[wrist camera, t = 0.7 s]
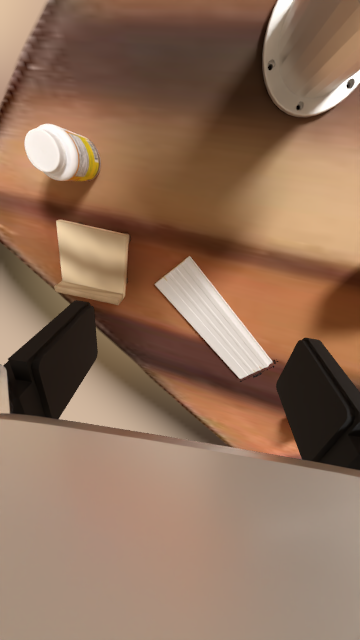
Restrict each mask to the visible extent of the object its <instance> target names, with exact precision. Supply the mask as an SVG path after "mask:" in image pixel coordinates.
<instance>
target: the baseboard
mask: <svg viewBox="0 0 360 640" xmlns="http://www.w3.org/2000/svg"><path fill="white" fill-rule="evenodd" d="M155 286H156V287H157V288H158V289H159V290H160V291H161V292H162V293H163V294H164V296H165V297H166V298H167V299H168V300H169V301H170V302H171V303H172V304H173V306H174V307H175V308H176V309H177V310H178V311H179V312H180V313H181V314H182V315H183V317H184V318H185V319H186V320H187V321H188V322H189V323H190V324H191V325H192V327H193V328H194V329H195V330H196V331H197V332H198V333H199V334H200V335H201V336H202V338H203V339H204V340H205V341H206V342H207V343H208V344H209V345H210V346H211V348H212V349H213V350H214V351H215V352H216V353H217V354H218V355H219V356H220V358H221V359H222V360H223V361H224V362H225V363H226V364H227V365H228V366H229V367H230V369H231V370H232V371H233V372H234V373H235V374H236V375H237V376H238V377H239V379H241V378H243V377H246V376H248V375H249V374H252V373H254V372H256V371H258V370H261V369H263V368H266V367H268V366H269V364H270V363H272V360H271V359H270V358H269V356H268V355H267V354H266V352H265V351H264V350H263V349H262V347H261V346H260V345H259V344H258V342H257V341H256V340H255V338H254V337H253V336H252V335H251V333H250V332H249V331H248V329H247V328H246V327H245V326H244V324H243V323H242V322H241V321H240V319H239V318H238V317H237V315H236V314H235V313H234V312H233V310H232V309H231V308H230V306H229V305H228V304H227V303H226V301H225V300H224V299H223V298H222V296H221V295H220V294H219V292H218V291H217V290H216V289H215V287H214V286H213V285H212V283H211V282H210V281H209V280H208V278H207V277H206V276H205V275H204V273H203V272H202V271H201V269H200V268H199V267H198V266H197V264H196V263H195V262H194V260H193V259H192V258H191V257H190V256H188V257H187V258H186V259H185V260H183V261H182V262H181V263H180V264H178V265H177V266H176V267H175V268H173V269H172V270H171V271H170V272H168V273H167V274H166V275H164V276H163V277H162V278H161V279H159V280H158V281H157V282H156V283H155ZM276 360H277V359H276ZM274 362H275V360H274ZM277 362H278V361H277ZM274 364H276V362H275V363H274ZM271 368H272V367H271ZM273 368H274V366H273ZM269 369H270V368H269ZM267 370H268V369H267ZM262 372H263V371H262ZM261 374H262V373H261V372H260V375H261ZM258 375H259V373H258V374H257V375H256V376H254V375H253V378H254V377H257V376H258ZM251 377H252V376H251ZM249 378H250V377H249ZM244 380H245V379H244ZM242 381H243V380H242ZM240 382H241V381H240Z"/></svg>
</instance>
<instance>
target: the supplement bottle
mask: <svg viewBox="0 0 360 640" xmlns="http://www.w3.org/2000/svg"><path fill="white" fill-rule="evenodd" d="M25 151H26V154H27V156H28V158H29V160H30V161H31V163H32V164H33V165H34V166H35V167H36V168H37V169H39V170H40V171H43V172H44V173H45V174H46V175H47V176H49V177H50V178H52V179H55V180H58V181H90V180H93V179H94V178H95V177H96V176H97V175H98V173H99V171H100V165H101V161H100V156H99V153H98V150H97V149H96V147H95V145H94V144H93V143H92V142H91V141H90V140H89V139H87V138H86V137H84V136H81V135H79V134H76V133H74V132H71V131H68V130H66V129H63V128H61V127H58V126H56V125H52V124H43V125H41V126H39V127H38V128H36V129H32V130H30V131H29V132H28V133H27V135H26V137H25Z"/></svg>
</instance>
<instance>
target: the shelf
mask: <svg viewBox="0 0 360 640" xmlns="http://www.w3.org/2000/svg"><path fill="white" fill-rule="evenodd" d="M56 224H57V234H58V244H59V253H60V263H61V273H62V281H61V282H60V283H58V284H57V285H56V286H55V292H60V293H64V294H69V295H74V296H78V297H83V298H87V299H92V300H97V301H101V302H106V303H111V304H115V305H119V304H120V303H121V301H122V300H123V298H124V297H125V291H126V284H127V283H128V279H127V277H126V275H127V259H128V243H129V242H130V241H131V236H130V235H129V234H128V233H126V232H125V233H119V232H114V231H110V230H105V229H101V228H96V227H92V226H87V225H84V224H83V223H81V222H79V223H74V222H69V221H65V220H57V221H56Z"/></svg>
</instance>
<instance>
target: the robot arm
mask: <svg viewBox="0 0 360 640" xmlns="http://www.w3.org/2000/svg"><path fill="white" fill-rule="evenodd" d="M268 66H271V67H272V70H268ZM262 70H263V77H264V82H265V85H266V88H267V91H268V94H269V96H270V97H271V99H272V101H273V102H274V103H275V105H276V106H277V107H278V108H279V109H280V110H282V111H283V112H285V113H286V114H288V115H292V116H295V117H311V116H316V115H318V114H321V113H323V112H326V111H328V110H329V109H331V108H332V107H334V106H336V105H337V104H338V103H340V102H341V101H342V100H344V99H345V98H346V97H347V96H348V95H349V94H350V93H351V92H352V91H353V90H354V89H355V88H356V87H357V86H358V84H359V83H360V0H277V2H276V5H275V7H274V9H273V11H272V14H271V17H270V20H269V22H268V26H267V30H266V34H265V38H264V45H263V52H262ZM346 84H348V89H347V87H346ZM296 106H299V110H297V109H296ZM97 352H98V351H97V339H96V326H95V314H94V307H93V306H91V305H90V303H89V302H83V301H77V300H76V301H74V302H73V303H72V304H70V305H69V306H68V307H67V308H66V309H65V310H64V311H62V312H61V313H60V314H59V315H58V316H57V317H56V318H54V319H53V320H52V321H51V322H50V323H49V324H48V325H46V326H45V327H44V328H43V329H42V330H41V331H39V332H38V333H37V334H36V335H35V336H34V337H33V338H31V339H30V340H29V341H28V342H27V343H26V344H25V345H23V346H22V347H21V348H20V349H19V350H18V351H17V352H15V353H14V354H13V355H12V356H11V357H10V358H9V359H8V360H9V361H8V362H7V363H6V364H5V365H4V366H2V365H1V364H0V640H360V392H359V391H358V389H357V388H356V387H355V385H354V384H353V383H352V382H351V380H350V379H349V378H348V376H347V375H346V374H345V372H344V371H343V370H342V368H341V367H340V366H339V365H338V363H337V362H336V361H335V359H334V358H333V357H332V355H331V354H330V353H329V352H328V350H327V349H326V348H325V346H324V345H323V344H322V342H321V341H320V340H316V339H310V338H304V339H302V340H299V341H298V343H297V344H296V346H295V348H294V350H293V352H292V354H291V356H290V358H289V360H288V362H287V364H286V366H285V368H284V370H283V371H282V373H281V375H280V377H279V379H278V381H277V385H276V388H277V392H278V394H279V397H280V400H281V403H282V405H283V408H284V411H285V414H286V416H287V419H288V422H289V425H290V427H291V430H292V433H293V436H294V438H295V441H296V444H297V447H298V449H299V452H300V455H301V457H302V460H301V459H296V458H290V457H284V456H278V455H273V454H267V453H261V452H255V451H250V450H244V449H238V448H232V447H226V446H220V445H214V444H208V443H202V442H196V441H190V440H184V439H178V438H172V437H167V436H161V435H154V434H148V433H142V432H135V431H130V430H123V429H117V428H111V427H105V426H99V425H93V424H87V423H80V422H73V421H67V420H59V417H60V415H61V414H62V412H63V411H64V409H65V408H66V406H67V404H68V403H69V401H70V400H71V398H72V397H73V395H74V393H75V392H76V390H77V388H78V387H79V385H80V384H81V382H82V381H83V379H84V377H85V376H86V374H87V373H88V371H89V370H90V368H91V366H92V365H93V363H94V361H95V360H96V358H97Z"/></svg>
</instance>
